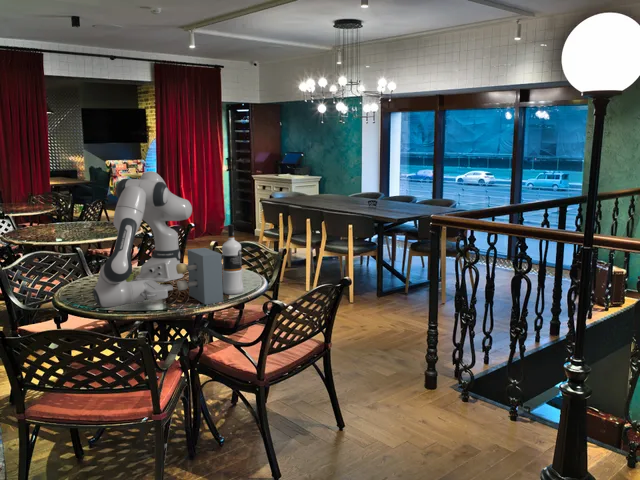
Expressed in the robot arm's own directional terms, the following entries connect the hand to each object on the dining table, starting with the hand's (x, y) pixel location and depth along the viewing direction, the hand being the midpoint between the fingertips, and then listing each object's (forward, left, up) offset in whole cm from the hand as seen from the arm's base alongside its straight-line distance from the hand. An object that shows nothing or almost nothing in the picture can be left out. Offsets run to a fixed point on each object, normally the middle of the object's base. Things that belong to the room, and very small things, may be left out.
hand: (171, 287), depth 238 cm
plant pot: (-25, +19, -7) cm, 32 cm away
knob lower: (+8, +5, -2) cm, 10 cm away
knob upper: (+8, +5, +5) cm, 11 cm away
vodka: (+23, +16, -7) cm, 29 cm away
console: (+12, +7, -7) cm, 16 cm away
